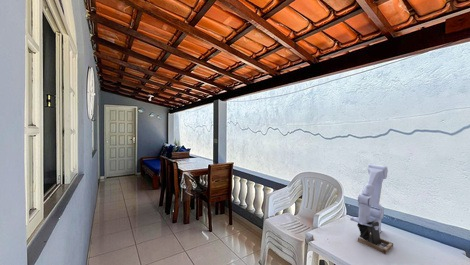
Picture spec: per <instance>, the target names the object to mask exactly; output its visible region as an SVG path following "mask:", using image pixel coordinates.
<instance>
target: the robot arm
mask: <svg viewBox="0 0 470 265" xmlns="http://www.w3.org/2000/svg"><path fill="white" fill-rule="evenodd" d="M388 172H389V170H388V167H387V166H386V165H379V164H372V163H369V164H368V166H367V173H368V179H367V183H366V184H364V186H363V189H362V191H361V193H360V194H359V195H358V197H357V203H358V204H357V205H358V216H357V217H355V216H350V219H349V220H350V221H352V222H356V223H357V225H356V226H357V228H358V230H359V234H360V235H362V234H363V233H364V232H365V230H366V229H367V226H370V227H372V224H370V225H368V222H371V221H375V222H378V223H379V226H374V228H375V230H378V228H379V234H380V233H382V232H383V229H382V219H384V216H385V215H384V210H385V208H384V207H383V206H382V205H381V204H380V202H381V201H380V200H381V194H382V187H383V183H384V182H383V181H384V180H386V179H387V178H388Z"/></svg>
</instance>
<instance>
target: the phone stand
mask: <svg viewBox="0 0 470 265" xmlns="http://www.w3.org/2000/svg"><path fill="white" fill-rule="evenodd" d="M370 224H372V227H370V226H367V229H366V230H365V232H364V233H363V234H362V235H361V234H360V235H359V238H361V239H363V240H365V241H368V242H370V243H372V244H374V245H377V246H379V245H382V243H381V240H380V238H381V235H380V233H379V228H378V230H375V228H374V226H379V223H378V222H375V221H371V222H368V225H370ZM369 234H371V237H370V236H369Z"/></svg>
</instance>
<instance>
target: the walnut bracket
mask: <svg viewBox="0 0 470 265" xmlns="http://www.w3.org/2000/svg"><path fill="white" fill-rule="evenodd" d="M369 236H370V237H371V233H370V234H369ZM380 240H381V244H383V245H385V244H386V245H385V247H384V248H383V247H381V246H379V245H374V244H372V243H370V242H368V241H366V240H364V239H363V238H361V237H357V242H358V243H360V244H362V245H364V246H367V247H369V248H371V249H373V250H376V251H378V252H380V253H382V254H384V255H386V254H387V253H389V251H390V250H392V248H393V247H394V242H391V241H389V240H387V239H384V238H381V237H380Z"/></svg>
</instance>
